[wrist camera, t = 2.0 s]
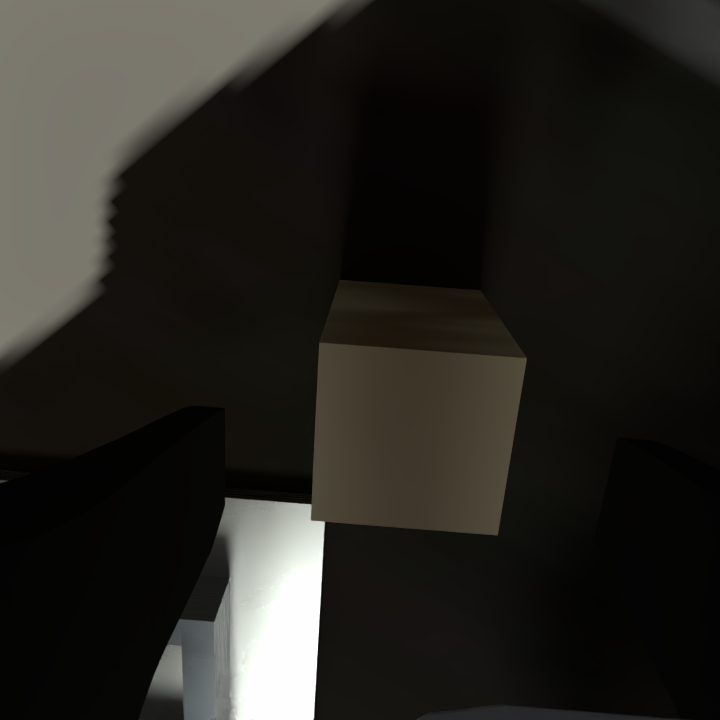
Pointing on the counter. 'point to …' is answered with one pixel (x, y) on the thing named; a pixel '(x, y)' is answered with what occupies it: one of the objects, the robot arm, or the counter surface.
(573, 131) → the counter surface
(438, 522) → the beige rectangular block
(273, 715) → the socket plate
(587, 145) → the counter surface
